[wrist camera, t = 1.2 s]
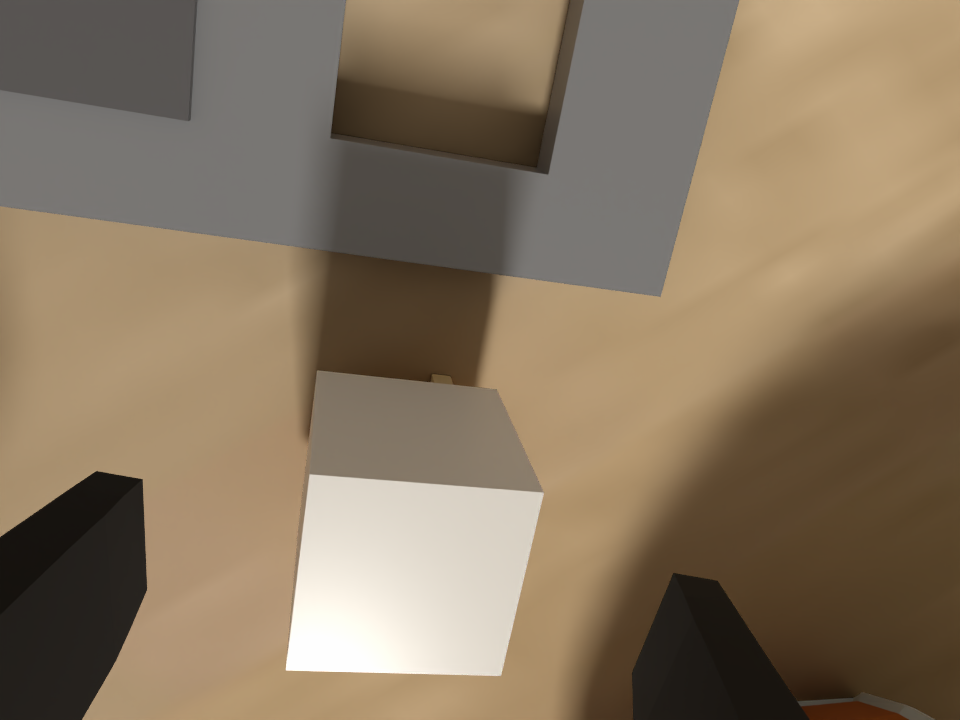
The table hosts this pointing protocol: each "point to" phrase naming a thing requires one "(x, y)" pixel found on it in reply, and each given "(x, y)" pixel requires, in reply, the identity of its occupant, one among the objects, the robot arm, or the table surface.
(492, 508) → the plug
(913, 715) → the alarm clock
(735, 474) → the table surface
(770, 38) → the table surface
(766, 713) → the robot arm
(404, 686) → the table surface
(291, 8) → the socket strip
